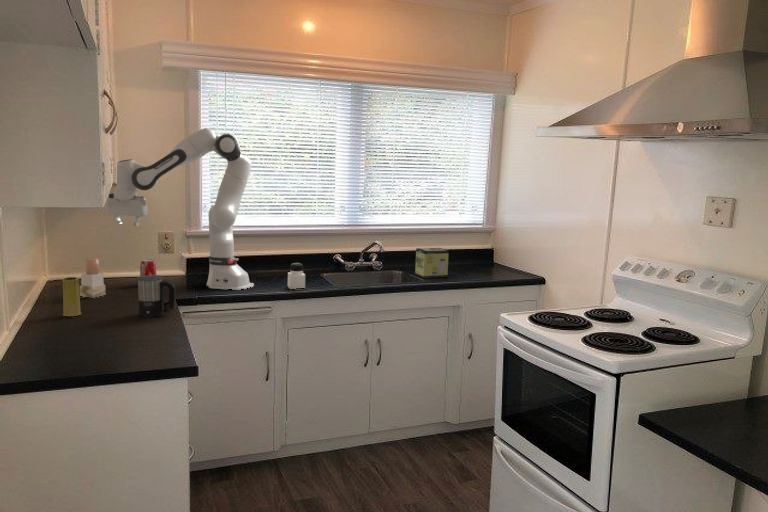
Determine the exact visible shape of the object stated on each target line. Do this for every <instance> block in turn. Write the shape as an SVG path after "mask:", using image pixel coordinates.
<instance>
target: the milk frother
mask: <svg viewBox="0 0 768 512" xmlns="http://www.w3.org/2000/svg"><path fill="white" fill-rule="evenodd" d="M136 279H137V288H138V289H137V290H138V316H139V317H140V316H144V317H143V318H153V317H152V316H157V317H160V315H161V316H163V315H164V314H165V313H164V311H165V310H166V309H168V308H169V309H170V310H173V309H175V307H176V291H177V289H176V284H174V282H172V281H170V280H163V276H162V275H157V274H156V275H148V276H138V277H136ZM164 287H167V288H168V292H169V293H168V294H169V295H168V296H169V297H168V301H165V300H164ZM162 314H163V315H162Z"/></svg>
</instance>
